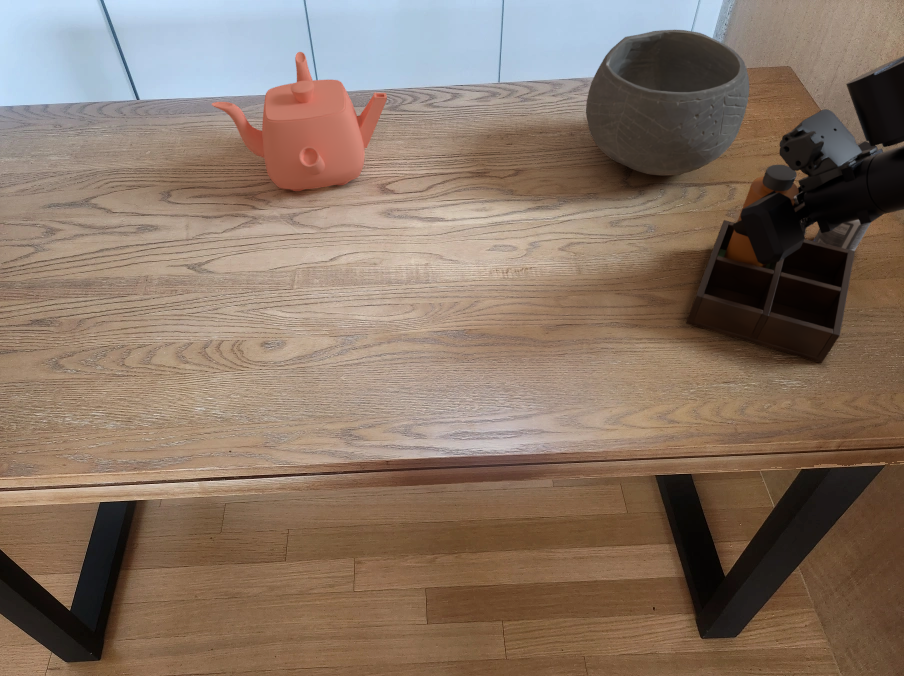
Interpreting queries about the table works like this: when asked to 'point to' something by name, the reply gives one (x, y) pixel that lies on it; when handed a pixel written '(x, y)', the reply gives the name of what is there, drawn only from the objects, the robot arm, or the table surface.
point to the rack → (776, 298)
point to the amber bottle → (773, 179)
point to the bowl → (667, 101)
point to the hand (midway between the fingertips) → (749, 219)
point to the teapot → (309, 131)
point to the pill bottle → (844, 235)
